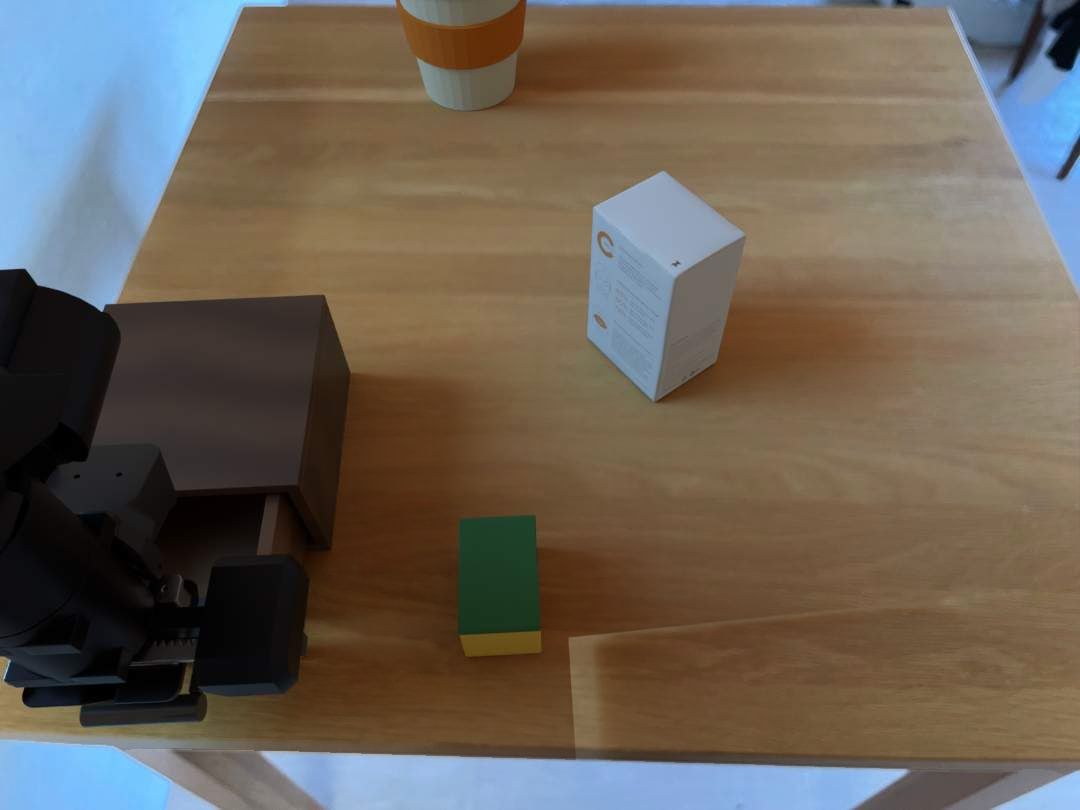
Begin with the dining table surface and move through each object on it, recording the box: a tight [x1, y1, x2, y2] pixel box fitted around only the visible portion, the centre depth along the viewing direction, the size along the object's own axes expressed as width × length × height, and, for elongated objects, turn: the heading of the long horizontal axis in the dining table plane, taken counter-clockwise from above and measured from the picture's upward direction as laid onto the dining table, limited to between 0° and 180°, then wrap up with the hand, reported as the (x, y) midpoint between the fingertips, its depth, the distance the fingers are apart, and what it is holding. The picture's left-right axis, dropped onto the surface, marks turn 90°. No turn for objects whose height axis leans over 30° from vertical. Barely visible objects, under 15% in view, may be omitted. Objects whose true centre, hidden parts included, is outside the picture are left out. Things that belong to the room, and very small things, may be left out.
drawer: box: [78, 492, 309, 728], centre depth 49 cm, size 18×13×7 cm
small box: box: [586, 170, 748, 403], centre depth 58 cm, size 8×6×13 cm
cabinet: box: [91, 294, 351, 552], centre depth 55 cm, size 15×15×9 cm
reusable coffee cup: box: [395, 0, 528, 112], centre depth 77 cm, size 12×13×15 cm
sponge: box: [457, 514, 543, 658], centre depth 50 cm, size 7×5×4 cm, turn 3°
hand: (168, 681), depth 46 cm, fingers closed, pressing on drawer
